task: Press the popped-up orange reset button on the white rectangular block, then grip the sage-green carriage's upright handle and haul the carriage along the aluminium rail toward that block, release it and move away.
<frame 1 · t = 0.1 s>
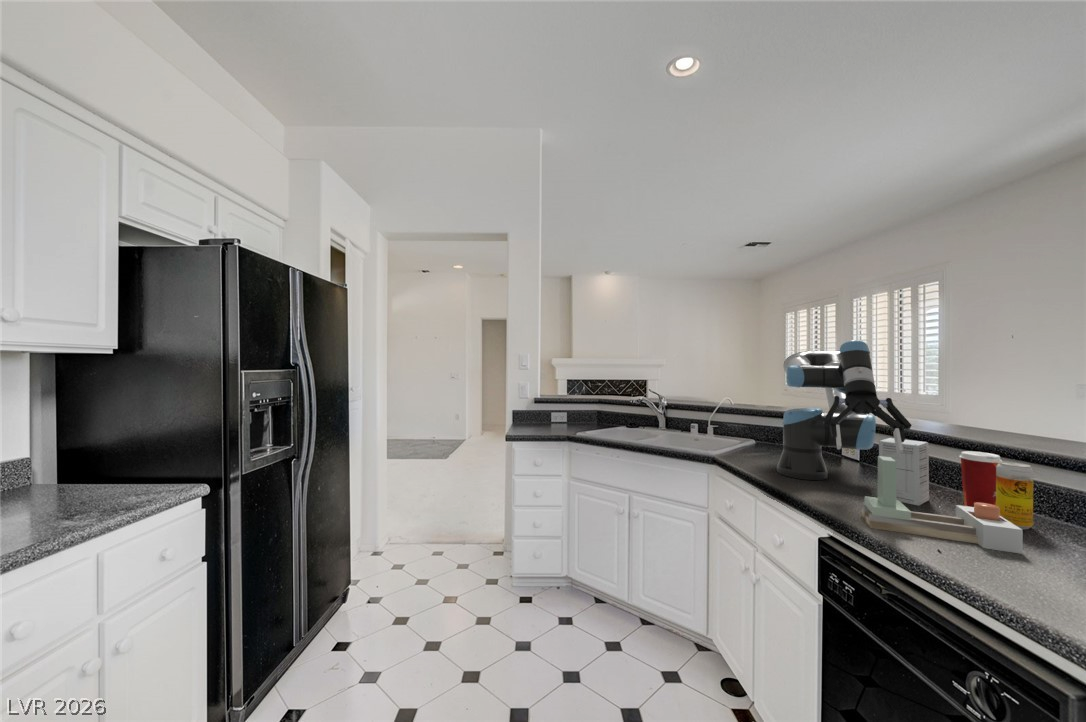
hand: (868, 449, 118), 15 cm above the counter, tool tilted 35°, fingers open, 13 cm apart
supplement box: (903, 499, 124), on the counter
rail track: (915, 528, 101), on the counter
coffee cup: (979, 509, 116), on the counter
carriage: (886, 485, 104), point 10 cm above the counter, slide at 0.0 cm
white rectangular block: (986, 538, 96), on the counter
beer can: (1013, 526, 104), on the counter
reset button: (986, 514, 96), point 5 cm above the counter, slide at 0.0 cm
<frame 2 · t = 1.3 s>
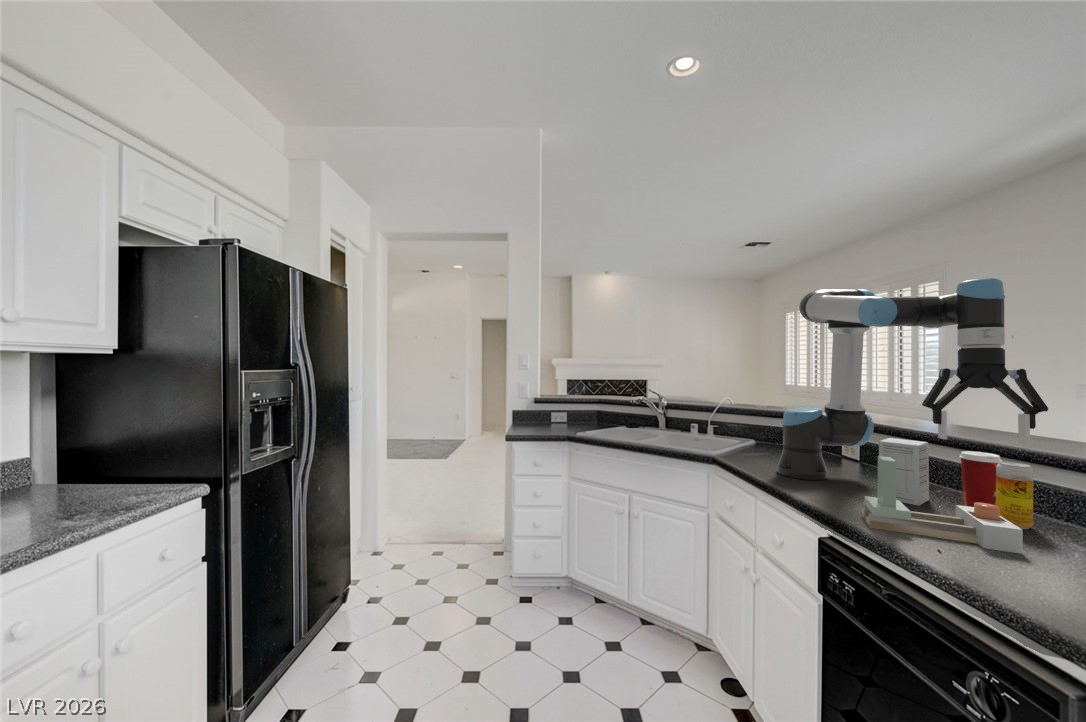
hand: (982, 441, 96), 22 cm above the counter, tool pointing down, fingers open, 13 cm apart
nothing on the counter moved.
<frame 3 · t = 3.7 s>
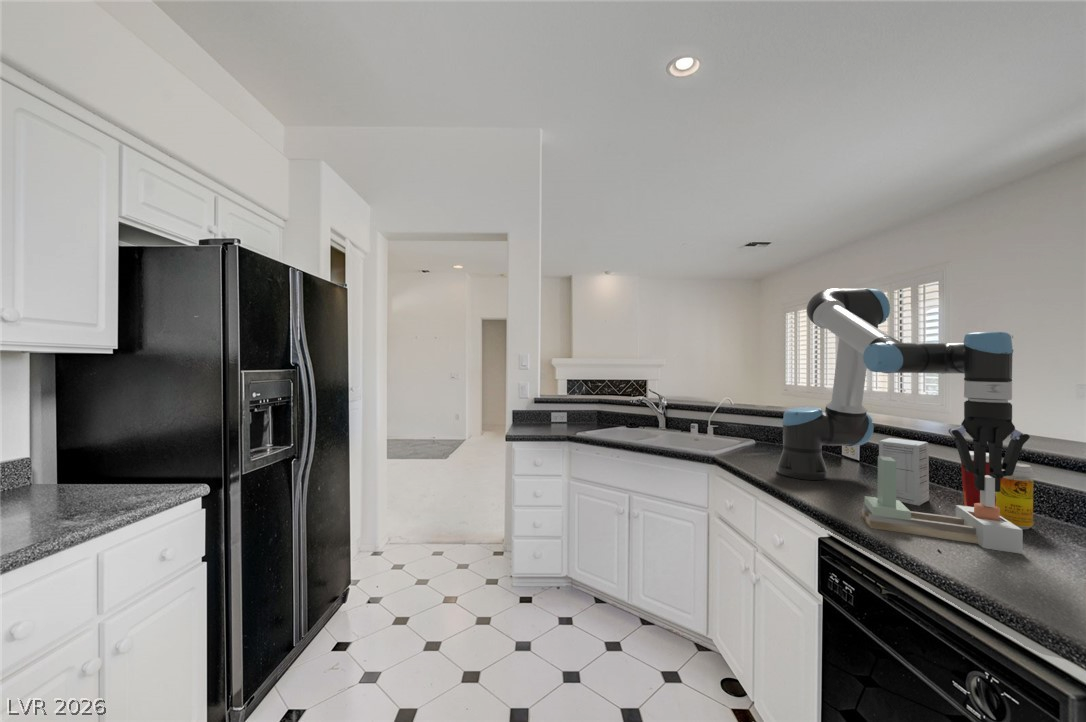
hand: (987, 505, 96), 8 cm above the counter, tool pointing down, fingers closed
reset button: (986, 514, 96), point 5 cm above the counter, slide at 0.2 cm, touching gripper
everything else where it was.
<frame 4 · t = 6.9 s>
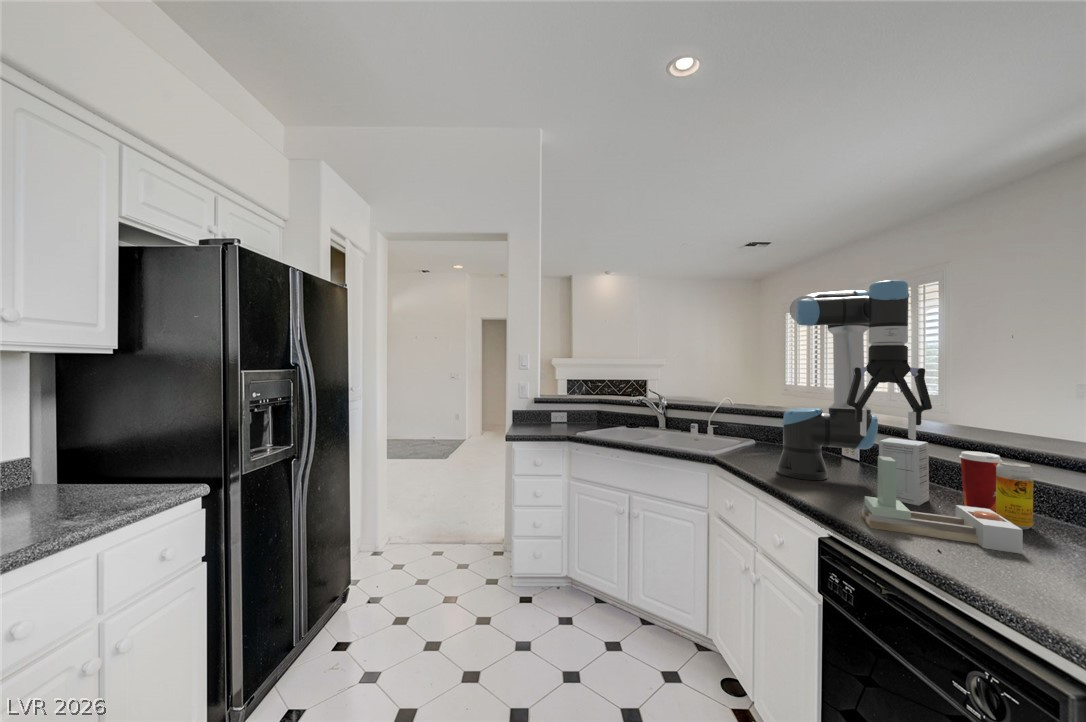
hand: (887, 436, 104), 21 cm above the counter, tool pointing down, fingers open, 9 cm apart
reset button: (986, 522, 96), point 4 cm above the counter, slide at 2.0 cm
everything else where it was.
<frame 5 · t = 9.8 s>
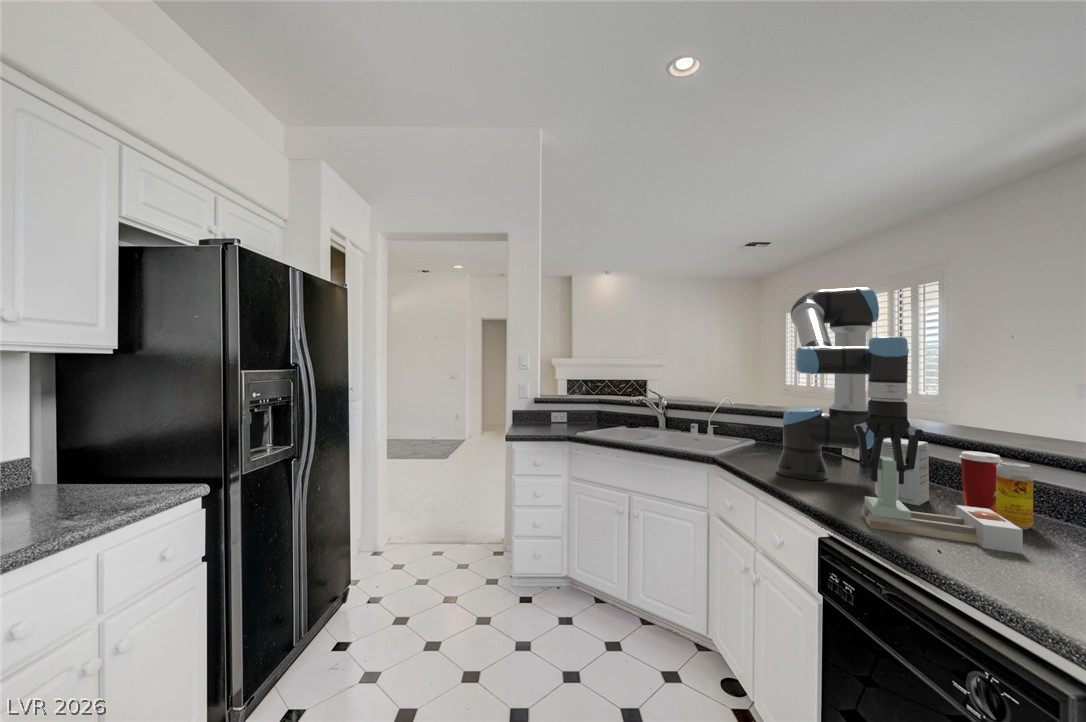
hand: (886, 495, 104), 7 cm above the counter, tool pointing down, fingers closed on carriage, 2 cm apart
carriage: (886, 485, 104), point 10 cm above the counter, slide at 0.0 cm, touching gripper
everything else where it was.
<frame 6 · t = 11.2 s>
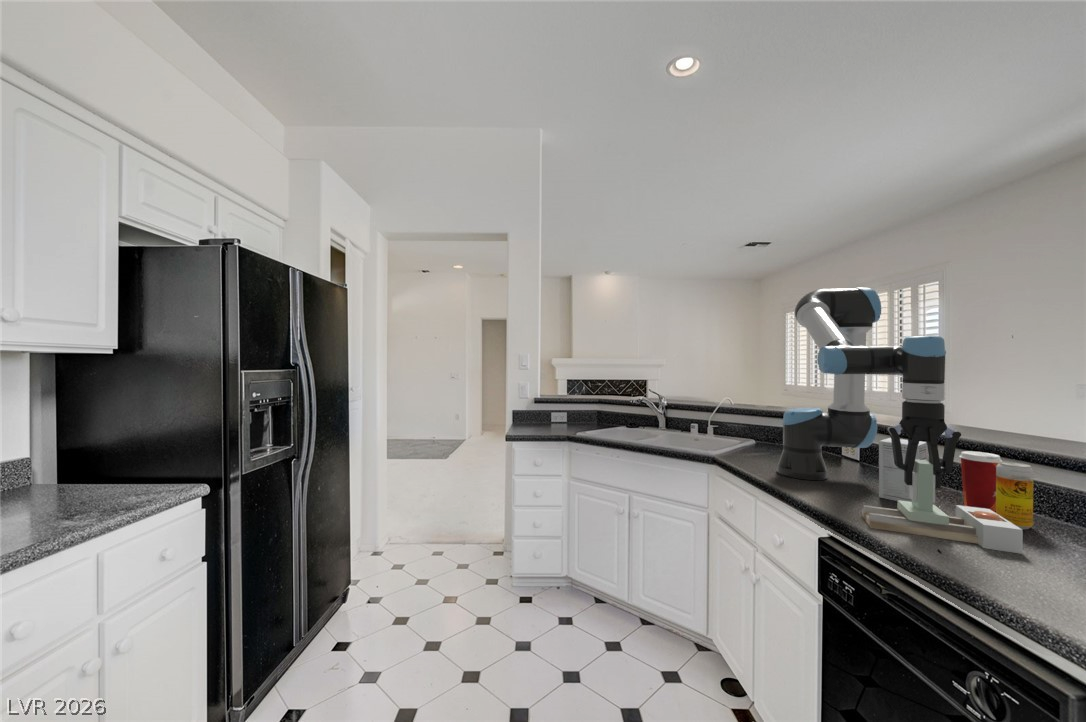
hand: (921, 499, 101), 7 cm above the counter, tool pointing down, fingers closed on carriage, 2 cm apart
carriage: (922, 489, 101), point 10 cm above the counter, slide at 6.7 cm, touching gripper
everything else where it was.
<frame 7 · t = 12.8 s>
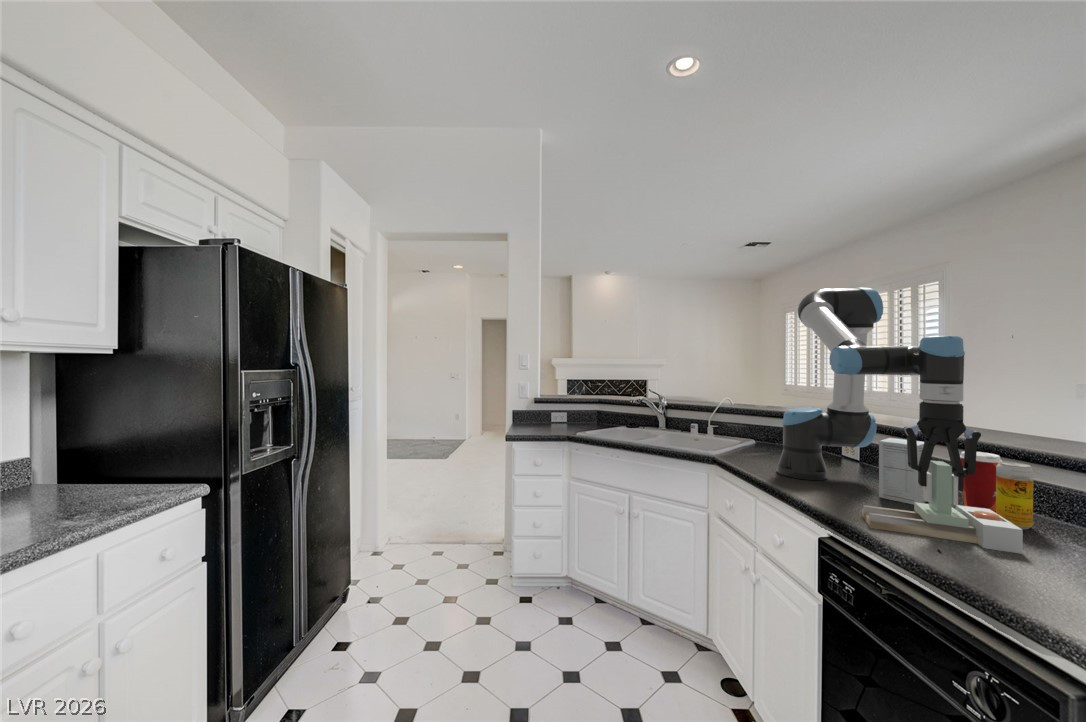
hand: (940, 501, 99), 7 cm above the counter, tool pointing down, fingers open, 4 cm apart
carriage: (940, 491, 99), point 10 cm above the counter, slide at 10.0 cm
everything else where it was.
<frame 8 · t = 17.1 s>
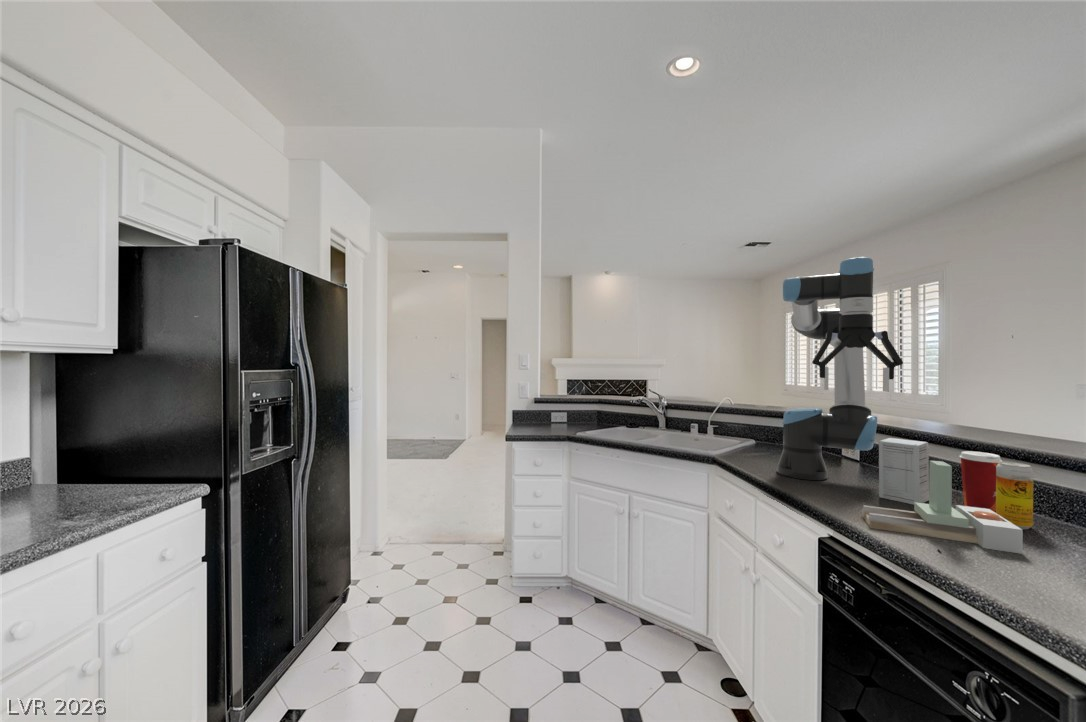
hand: (855, 390, 118), 32 cm above the counter, tool pointing down, fingers open, 13 cm apart
nothing on the counter moved.
at the end: reset button slide at 2.0 cm; carriage slide at 10.0 cm; the gripper is holding nothing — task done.
